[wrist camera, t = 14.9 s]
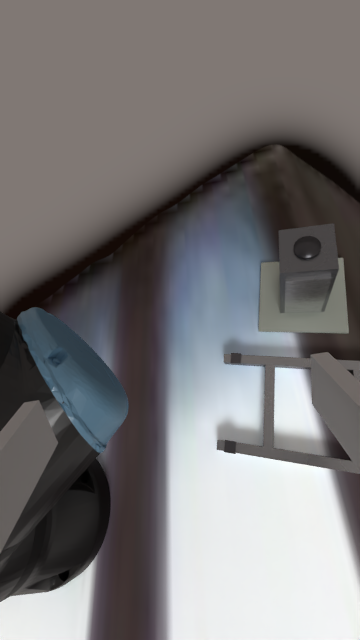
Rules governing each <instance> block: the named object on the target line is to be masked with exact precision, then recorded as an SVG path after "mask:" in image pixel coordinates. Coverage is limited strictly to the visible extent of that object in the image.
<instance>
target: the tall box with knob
mask: <svg viewBox="0 0 360 640" xmlns="http://www.w3.org/2000/svg"><path fill="white" fill-rule="evenodd" d="M338 270H339V264H338V255H337V246H336V238H335V229H334V224H326V225H318V226H310V227H302V228H294V229H286V230H279V283H280V313H300V312H324V311H325V308H326V305H327V302H328V299H329V296H330V294H331V291H332V288H333V285H334V282H335V279H336V276H337V273H338Z"/></svg>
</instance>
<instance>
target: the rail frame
mask: <svg viewBox="0 0 360 640" xmlns="http://www.w3.org/2000/svg"><path fill="white" fill-rule="evenodd" d="M337 361H338V362H339V363H340V364H341V365H342V366H343V367H344V368H345V369H347V370H348V371H349V372H351V374H352V375H353V376H354V377H355V378H356V379H357V380H358V381H359V382H360V361H351V360H337ZM224 363H225V364H231V365H247V366H263V367H266V370H265V405H264V441H263V446H256V445H250V444H244V443H237V442H234V441H228V440H217V450H223V451H224V452H227V453H233V454H236V453H240V454H246V455H252V456H258V457H264V458H270V459H276V460H282V461H287V462H293V463H299V464H305V465H311V466H317V467H323V468H329V469H335V470H340V471H346V472H352V473H358V474H360V472H359V470H358V469H357V467H356V466H355V464H354V463H353V462H352V460H345V459H339V458H333V457H326V456H320V455H314V454H307V453H301V452H294V451H288V450H282V449H275V448H273V444H274V384H275V367H279V368H295V369H311V358H291V357H271V356H250V355H241V354H238V353H231V355H230V354H224Z"/></svg>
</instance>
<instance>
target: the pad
mask: <svg viewBox="0 0 360 640" xmlns="http://www.w3.org/2000/svg"><path fill="white" fill-rule="evenodd" d="M338 264H339V270H338V273H337V276H336V279H335V282H334V285H333V288H332V291H331V294H330V296H329V299H328V302H327V305H326V308H325V311H324V312H300V313H280V283H279V262H266V263H261V284H260V311H259V332H302V333H349V329H348V316H347V303H346V290H345V277H344V264H343V258H338Z"/></svg>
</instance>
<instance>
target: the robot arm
mask: <svg viewBox="0 0 360 640" xmlns="http://www.w3.org/2000/svg"><path fill="white" fill-rule="evenodd" d="M311 385H312V404H313V406H314V407H315V409H316V410H317V411H318V413H319V414H320V416H321V417H322V419H323V420H324V421H325V423H326V424H327V426H328V427H329V429H330V430H331V431H332V433H333V434H334V436H335V437H336V439H337V440H338V441H339V443H340V444H341V446H342V447H343V449H344V450H345V451H346V453H347V454H348V456H349V457H350V459H351V460H352V462H353V463H354V464H355V466H356V467H357V469H358V470H359V472H360V382H359V381H358V380H357V379H356V378H355V377H354V376H353V375H352V374H351V373H350V372H349V371H348V370H347V369H345V368H344V367H343V366H342V365H341V364H340V363H339V362H338V361H337V360H336V359H335V358H334V357H333V356H332V355H330V354H329V353H328V352H324V353H318V354H312V355H311ZM127 413H128V399H127V395H126V393H125V391H124V389H123V387H122V385H121V384H120V382H119V381H118V379H117V378H116V376H115V375H114V374H113V372H112V371H111V370H110V369H109V367H108V366H107V365H106V364H105V363H104V361H103V360H102V359H101V358H100V357H99V356H98V355H97V354H96V353H95V352H94V351H93V349H92V348H91V347H90V346H89V345H88V344H87V343H86V342H85V341H84V340H82V339H81V338H80V337H79V336H78V335H77V334H76V333H75V332H74V331H73V330H72V329H70V328H69V327H68V326H67V325H66V324H64V323H63V322H62V321H61V320H59V319H58V318H57V317H55V316H54V315H52V314H50V313H47V312H46V311H44V310H43V309H41V308H37V307H33V308H30V309H29V310H27V311H24V312H21V314H20V315H19V316H18V318H17V320H16V319H12V318H10V317H8V316H7V315H5V314H3V313H2V312H0V602H1V601H3V600H4V599H6V598H8V597H10V596H16V595H25V594H33V593H42V592H48V591H52V590H55V589H57V588H60V587H62V586H63V585H65V584H67V583H68V582H70V581H71V580H72V579H74V578H75V577H77V576H78V575H80V574H81V573H82V572H83V571H84V570H85V569H86V568H87V567H88V566H89V565H90V564H91V562H92V561H93V560H94V558H95V556H96V555H97V553H98V551H99V549H100V547H101V545H102V543H103V540H104V537H105V534H106V531H107V527H108V522H109V514H110V495H109V488H108V484H107V480H106V477H105V474H104V471H103V469H102V467H101V466H100V464H99V462H98V461H97V459H96V457H97V456H98V455H99V454H100V453H102V452H103V451H104V450H105V448H106V444H107V442H108V441H109V440H110V438H111V437H112V436H113V434H114V433H115V432H116V431H117V429H118V428H119V427H120V425H121V424H122V423H123V422H124V420H125V418H126V416H127Z"/></svg>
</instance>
